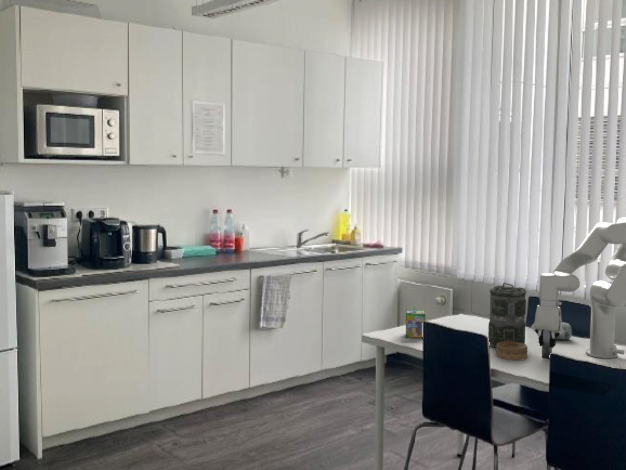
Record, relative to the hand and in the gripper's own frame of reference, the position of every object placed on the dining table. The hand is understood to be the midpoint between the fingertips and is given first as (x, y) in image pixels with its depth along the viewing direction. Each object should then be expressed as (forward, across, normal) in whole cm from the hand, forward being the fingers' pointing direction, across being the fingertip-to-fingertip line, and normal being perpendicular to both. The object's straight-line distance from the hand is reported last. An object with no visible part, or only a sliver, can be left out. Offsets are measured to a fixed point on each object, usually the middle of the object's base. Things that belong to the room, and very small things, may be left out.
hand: (547, 345), depth 294 cm
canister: (+5, +21, -8) cm, 23 cm away
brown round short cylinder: (+5, +12, +8) cm, 15 cm away
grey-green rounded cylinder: (+5, +8, -35) cm, 36 cm away
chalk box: (+5, +62, +1) cm, 62 cm away
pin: (+5, 0, 0) cm, 5 cm away
